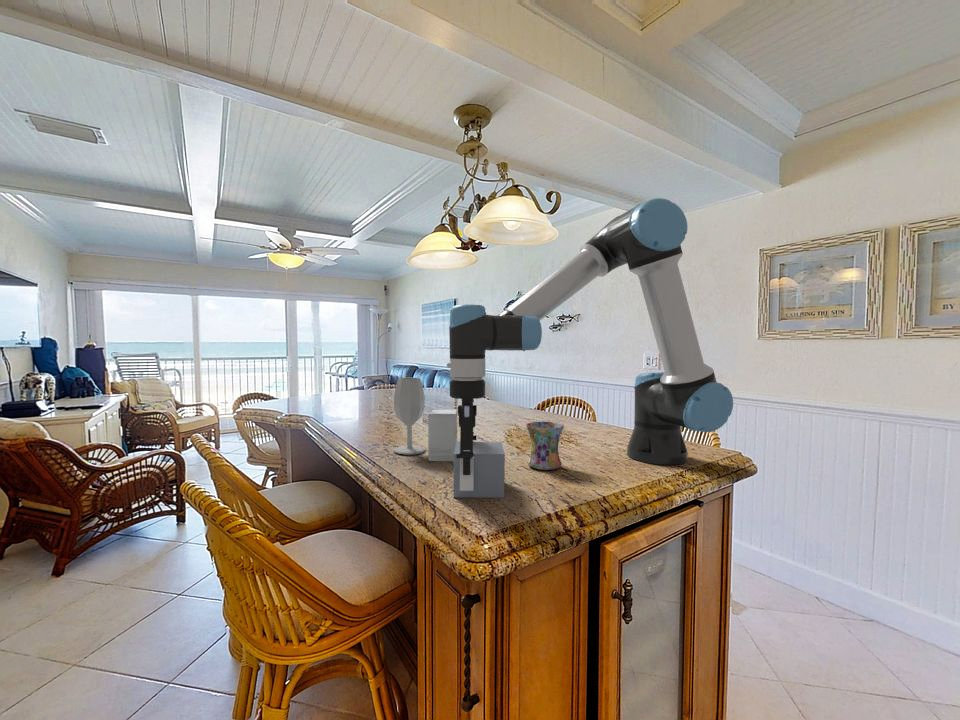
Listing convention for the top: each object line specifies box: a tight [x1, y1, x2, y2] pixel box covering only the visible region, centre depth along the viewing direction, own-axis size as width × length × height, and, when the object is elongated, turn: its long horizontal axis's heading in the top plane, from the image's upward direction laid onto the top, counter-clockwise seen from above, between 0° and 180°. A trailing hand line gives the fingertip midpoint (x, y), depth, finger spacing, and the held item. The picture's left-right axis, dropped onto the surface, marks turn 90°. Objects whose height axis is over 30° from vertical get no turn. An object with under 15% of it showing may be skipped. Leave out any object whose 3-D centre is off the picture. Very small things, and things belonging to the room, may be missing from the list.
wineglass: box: [392, 376, 427, 456], centre depth 118 cm, size 9×9×21 cm
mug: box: [525, 420, 565, 471], centre depth 106 cm, size 12×9×11 cm
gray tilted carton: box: [453, 441, 506, 499], centre depth 89 cm, size 10×10×9 cm
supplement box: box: [427, 409, 458, 462], centre depth 112 cm, size 7×7×13 cm
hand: (467, 479), depth 89 cm, fingers open, 12 cm apart
